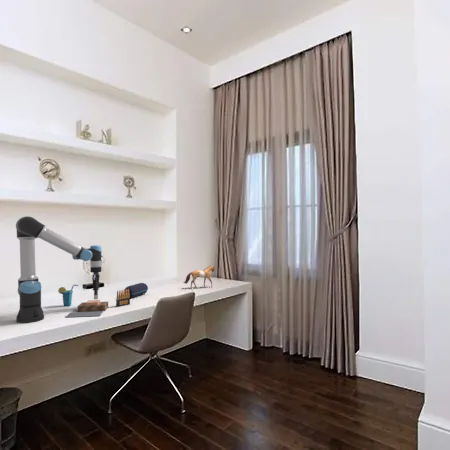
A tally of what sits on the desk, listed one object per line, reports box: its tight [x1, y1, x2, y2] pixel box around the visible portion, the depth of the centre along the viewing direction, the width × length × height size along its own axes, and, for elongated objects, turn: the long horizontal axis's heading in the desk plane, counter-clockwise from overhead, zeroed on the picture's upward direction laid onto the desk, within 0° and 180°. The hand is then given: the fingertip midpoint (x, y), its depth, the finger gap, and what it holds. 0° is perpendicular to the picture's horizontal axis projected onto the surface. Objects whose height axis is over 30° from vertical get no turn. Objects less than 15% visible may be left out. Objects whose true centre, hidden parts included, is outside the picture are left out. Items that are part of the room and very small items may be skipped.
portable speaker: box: [124, 282, 149, 299], centre depth 285 cm, size 25×10×10 cm, turn 161°
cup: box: [58, 284, 79, 307], centre depth 251 cm, size 14×8×15 cm, turn 134°
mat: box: [64, 311, 104, 319], centre depth 224 cm, size 21×12×1 cm, turn 99°
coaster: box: [86, 299, 101, 306], centre depth 237 cm, size 8×8×2 cm
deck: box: [77, 301, 109, 312], centre depth 238 cm, size 18×12×4 cm, turn 99°
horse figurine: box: [183, 265, 215, 289], centre depth 323 cm, size 31×8×21 cm, turn 109°
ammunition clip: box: [115, 288, 131, 308], centre depth 250 cm, size 11×2×12 cm, turn 140°
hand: (96, 299), depth 247 cm, fingers closed
